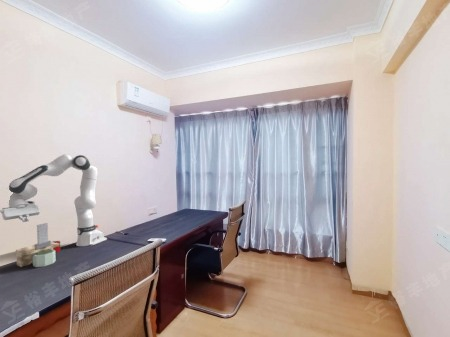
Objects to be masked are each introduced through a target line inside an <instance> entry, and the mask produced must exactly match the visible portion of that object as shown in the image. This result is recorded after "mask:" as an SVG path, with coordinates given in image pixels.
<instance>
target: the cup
mask: <svg viewBox="0 0 450 337" xmlns="http://www.w3.org/2000/svg"><path fill="white" fill-rule="evenodd" d="M56 258H57V257H56V253H55V250H52V249H51V250H43V251H40V252H36V253H35V254H33V263H32V266H33V267H35V268H40V267H47V266H49V265H53V264H54V263H55V262H56V260H57V259H56Z"/></svg>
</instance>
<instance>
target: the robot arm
mask: <svg viewBox="0 0 450 337" xmlns="http://www.w3.org/2000/svg"><path fill="white" fill-rule="evenodd" d="M70 168H74V169H76V170H79V171H82V176H81V181H80V185H79V186H80V187H79V189H80V195H79V196H77V197H76V198H74V206H75V213H76V216H77V217H76V218H77V228H76V231H77V232H76V233H77V240H76V243H75V246H76V247H87V246H94V245H96V244H99V243H102V242H104V241H107V240H108V238H107V237H106V236H104V232H102V231H100V230H99V229H98V228H99V225H98V224H94V223H95V222H94V214H93V211H92V210H93V209H94V208H95V207H96V205H97V200H96V188H97V183H98V176H99V175H98V174H99V173H98V171H99V170H98V168H97V167H96V166H94V165H91V163H90V161H89V159H88V158H87V157H86V156H85V155H81V154H80V155H79V154H78V155H77V156H75V157H72V156H71V155H69V154H62V155H59V156H57V157H56V158H55V159H53V161H50V162H48V163H47V164H42V165H40V166H37V167H36V168H34V169H32V170H31V171H29V172H27V173H26V174H24V175H22V176H20V177H18V178H15V179H13V180H12V181H10V183H9V186H8V188H9V190H10V191H11V192H13V194H12V195H11V196H10V200H9V203H8V207H2V208H0V214H1V215H2V219H3V220H4V221H8V220H14V219H15V220H16V219H19V221H22V223H25V222H29V221H30V219H29V217H33V216H38V215H39V214H40V213H41V209H40V208H39V206H38V205H37V204H36V202H35V201H31V200H30V199H31V198H34V197H35V196H36V195H37V193H38V188H37V187H36V186H34V185H32V184H31V183H32V182H33V181H34V180H36V179H38V178H39V177H42V176H48V177H59V176H60V175H62V174H64V173H65V172H66V171H67V170H68V169H70Z"/></svg>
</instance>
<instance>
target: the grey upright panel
mask: <svg viewBox="0 0 450 337" xmlns="http://www.w3.org/2000/svg"><path fill="white" fill-rule="evenodd" d="M48 229H49V226H48V223H46V222H45V223H44V222H43V223H40V224H37V225H36V235H37V236H36V237H37V243H35V244H34V245H35V249H40V248H44V247H47V246H51V242H52V241H51V240H49V231H48Z"/></svg>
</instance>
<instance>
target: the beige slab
mask: <svg viewBox="0 0 450 337" xmlns="http://www.w3.org/2000/svg"><path fill="white" fill-rule="evenodd" d="M57 246H59V243H54V242H53V241H51V246H47V247H44V248H40V249H35V244H33V245H29V246H26V247H22V248H19V249H18V248H17V249H15V251H16V252H15V254H16V255H15V256H16V266H18V267H21V268H22V267H25V266H29V265H31V263H32V264H33V254H35V253H36V252H40V251H43V250H51V249H52V250H53V248H54V247H57Z"/></svg>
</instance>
